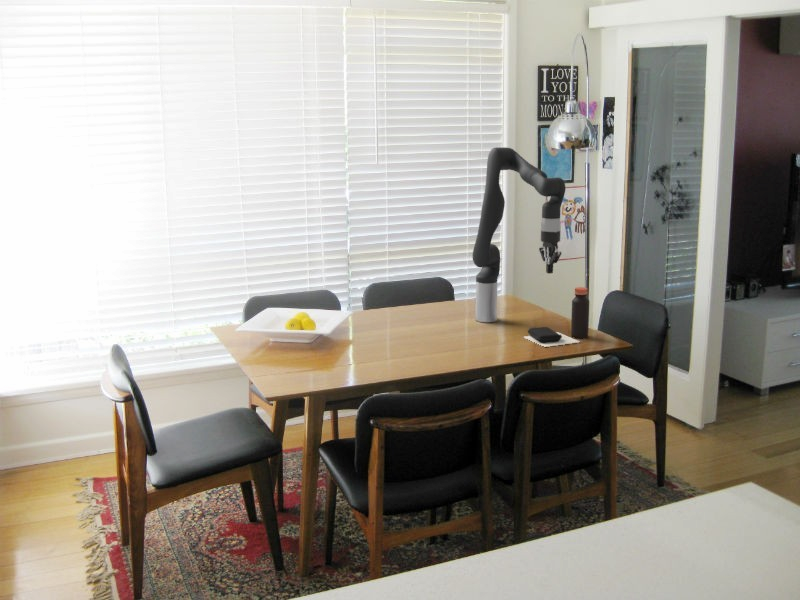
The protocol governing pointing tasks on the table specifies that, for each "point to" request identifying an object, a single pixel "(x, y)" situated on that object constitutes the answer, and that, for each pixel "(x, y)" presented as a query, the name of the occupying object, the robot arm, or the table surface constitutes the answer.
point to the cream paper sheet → (562, 341)
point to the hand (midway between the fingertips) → (549, 273)
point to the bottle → (580, 314)
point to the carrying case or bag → (544, 334)
